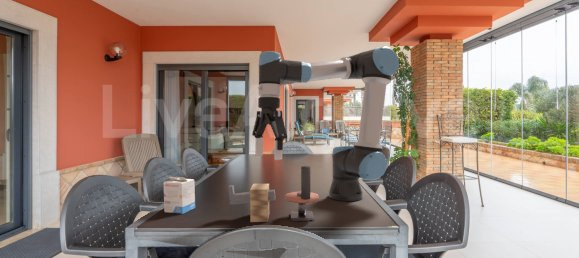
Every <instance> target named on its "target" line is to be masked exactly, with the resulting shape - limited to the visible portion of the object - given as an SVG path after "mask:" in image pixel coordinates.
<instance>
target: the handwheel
mask: <svg viewBox="0 0 579 258" xmlns="http://www.w3.org/2000/svg"><path fill="white" fill-rule="evenodd" d="M300 184H301V185H300V191H292V192H288V193H286V194H285V195H284V197H285V198H284V199H285V201H287V202H290V203H293V204H295V203H296V204H298V203H306V204H311V203H315V202H318V201H319V199H320V197H319V194H318V193H316V192H311V166H310V165H302V166H300Z"/></svg>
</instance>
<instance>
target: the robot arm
mask: <svg viewBox="0 0 579 258" xmlns="http://www.w3.org/2000/svg"><path fill="white" fill-rule="evenodd" d="M399 62H400V61H399V57H398V55H397V53H396V51H394V50H393V49H392V48H391V47H389V46H379V47H375V48H373V49H370V50H366V51H362V52H359V53H356V54H353V55H350V56H349V55H348V56H347V57H346V56H345V57H344V56H343V57H341V58H339V60H338V59H337V60H328V61H318V62H310V63H309V62H306V61H299V60H291V59H290V60H289V59H284V58H283V59H282V56H281V53H280V52H277V51H274V50H271V51H269V50H268V51H262V52H260V54H259V57H258V87H257V89H258V96H259V97H258V100H257V101H258V103H257V105H258V106H257V107H258V109H261V110H256V115H255V117H256V118H255V122H254V125H253V128H252V133H251V135H252V137H254V138H255V145H254V146H255V151H254V153H255V156H256V157H263V156H264V133H265V130H266V128H267V126H268V125H270V127H271V129H272V133H273V134H274V147H273V148H274V151H273V152H274V153H273V155H274V156H273V157H274V158H273V159H274V161H282V160H283V149H284V146H283V145H284V140H285V139H287V138H288V135H287V133H288V132H287V131H286V126H285V122H284V118H283V111H282V110H278V109H280V108H281V98H280V96H281V86H286V85H292V84H301V83H302V84H303V83H305V84H306V83H309V82H315V81H324V80H332V79H333V80H334V79H341V80H362V82H363V83H364V88H363V89H364V90H363V98H362V106H361V113H360V114H361V115H360V123H359V132H358V139H357V141H356V142H355V143H354V144H353V145H343V146H334V147H333V149H332V154H331V156H332V179H331V183H330V186H329V189H328V198H330V199H331V200H335V201H339V202H340V201H341V202H343V201H344V202H354V201H360V200H362V199H363V198H364V196H363V190H362V185H361V183H360V179H362V180H366V181H376V180H379V179H380V178H381V177H383V176H384V174H385V173H386V171H387V166H388V160H387V158H386V155H385V154H384V153H383V147H382V145H381V144H380V142H381V133H382V132H381V131H382V125H383V124H382V123H383V118H384V108H385V100H386V91H387V86H389V84H390V83H391V81H392V76H393V75H394V74H396V73H397V72H398V70H399V65H400V63H399ZM359 178H360V179H359Z"/></svg>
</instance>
